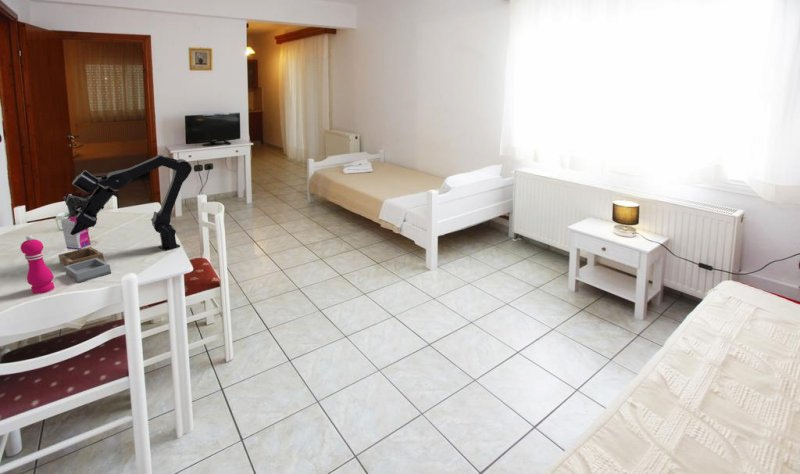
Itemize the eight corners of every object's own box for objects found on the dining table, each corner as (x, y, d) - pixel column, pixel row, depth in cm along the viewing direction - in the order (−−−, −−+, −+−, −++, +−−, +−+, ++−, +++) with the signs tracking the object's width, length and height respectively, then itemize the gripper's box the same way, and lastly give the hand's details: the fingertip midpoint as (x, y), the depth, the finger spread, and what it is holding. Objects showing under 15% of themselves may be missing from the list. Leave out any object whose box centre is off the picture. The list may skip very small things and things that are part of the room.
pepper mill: (39, 285, 163) (24, 232, 156) (60, 284, 164) (47, 232, 157) (25, 294, 156) (9, 239, 149) (48, 294, 157) (33, 239, 150)
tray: (111, 273, 173) (109, 264, 172) (78, 283, 165) (76, 274, 164) (98, 265, 180) (96, 257, 178) (66, 275, 171) (64, 266, 170)
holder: (104, 261, 184) (102, 253, 182) (71, 270, 175) (69, 262, 174) (92, 254, 190) (90, 246, 189) (60, 263, 181) (58, 254, 180)
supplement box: (79, 249, 177) (72, 221, 173) (66, 248, 178) (59, 220, 174) (91, 244, 182) (85, 217, 178) (79, 243, 183) (72, 216, 179)
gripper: (76, 182, 181) (49, 213, 179) (78, 192, 167) (48, 226, 165) (104, 198, 188) (78, 229, 186) (108, 210, 174) (80, 242, 172)
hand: (71, 231), depth 177 cm, fingers closed on supplement box, 8 cm apart
